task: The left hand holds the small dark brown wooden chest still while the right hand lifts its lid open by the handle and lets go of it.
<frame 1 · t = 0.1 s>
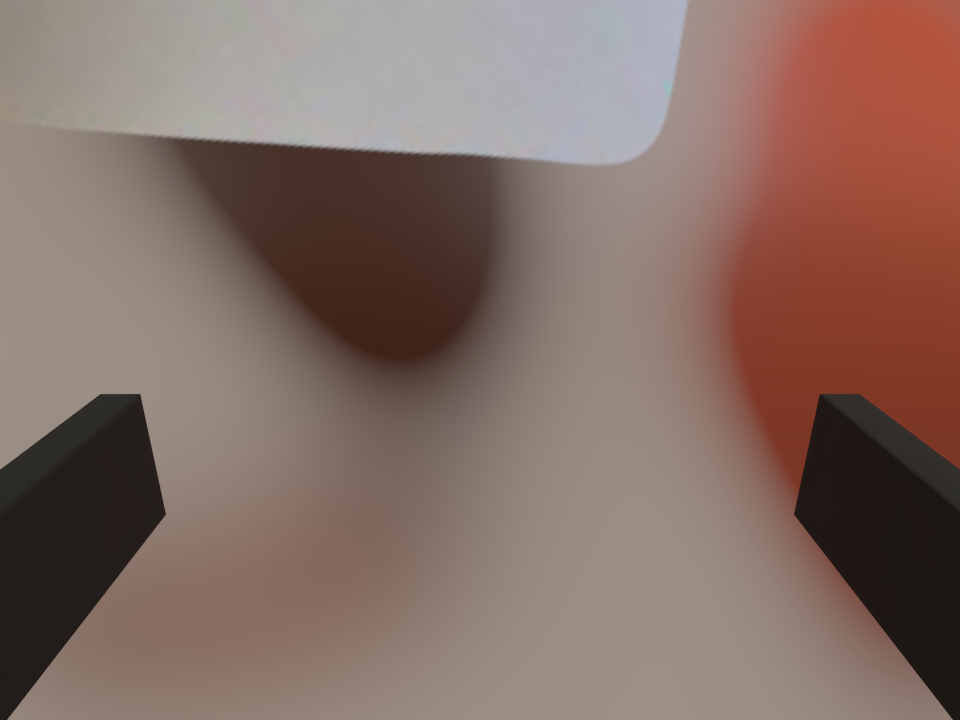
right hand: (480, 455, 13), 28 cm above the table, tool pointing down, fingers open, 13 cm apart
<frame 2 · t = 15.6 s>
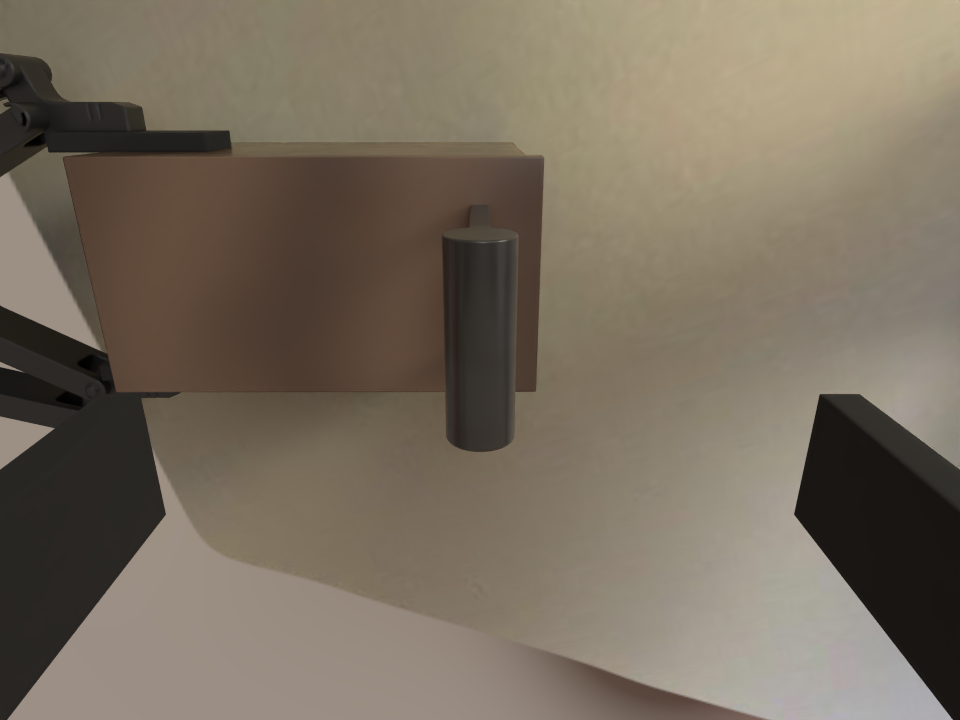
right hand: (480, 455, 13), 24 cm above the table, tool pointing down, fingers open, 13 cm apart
chest: (355, 234, 35), on the table, touching left hand
lid: (291, 308, 22), point 14 cm above the table, hinge at 0.0°
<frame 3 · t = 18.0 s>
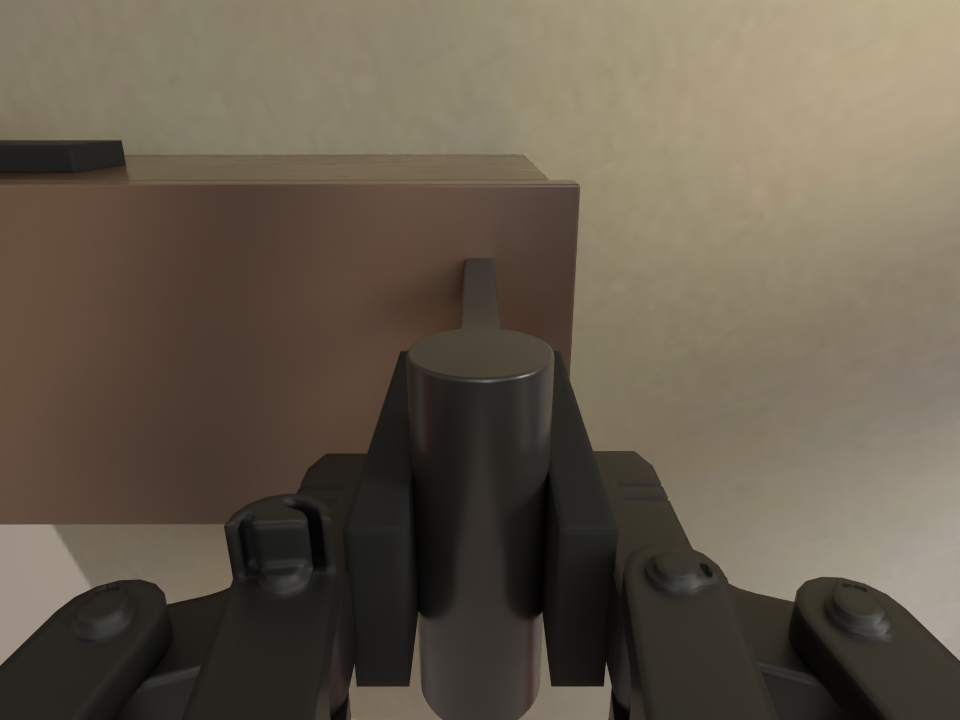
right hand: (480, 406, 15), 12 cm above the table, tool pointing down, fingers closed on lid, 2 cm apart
chest: (314, 275, 26), on the table, touching left hand
lid: (171, 435, 13), point 14 cm above the table, hinge at 0.0°, touching right hand
when the left hand's fingers open (6 cm above the table, at t = 25.2 s): chest stays where it is, on the table.
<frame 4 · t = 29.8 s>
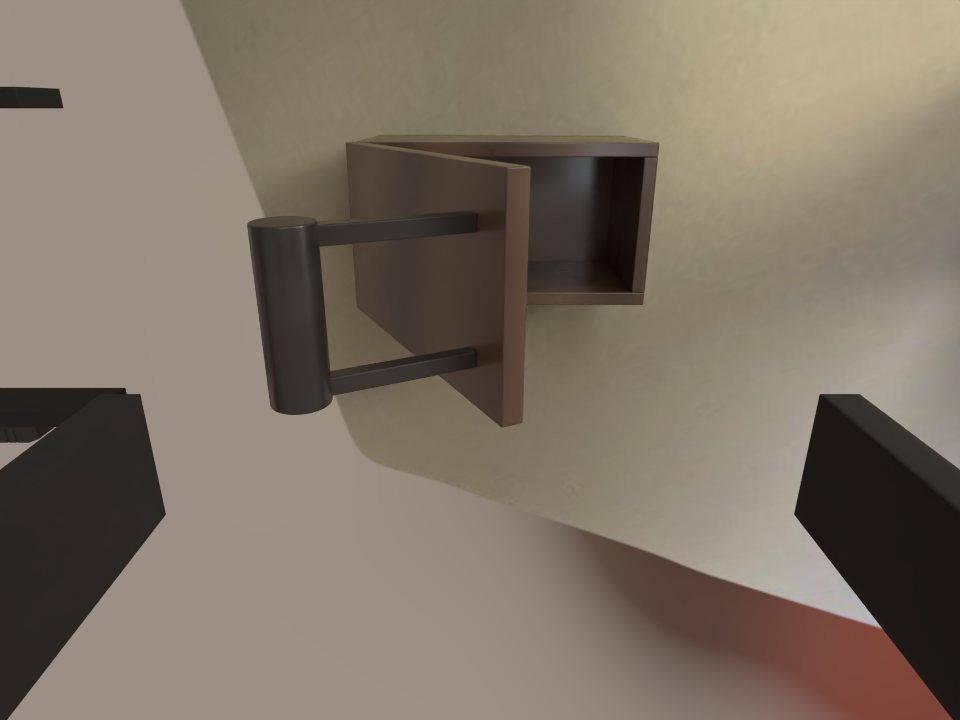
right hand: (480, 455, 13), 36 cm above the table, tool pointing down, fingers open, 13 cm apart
chest: (500, 204, 46), on the table
lid: (335, 266, 28), point 20 cm above the table, hinge at 62.2°
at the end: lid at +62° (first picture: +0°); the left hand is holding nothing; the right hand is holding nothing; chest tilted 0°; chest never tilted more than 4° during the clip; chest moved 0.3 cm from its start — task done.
